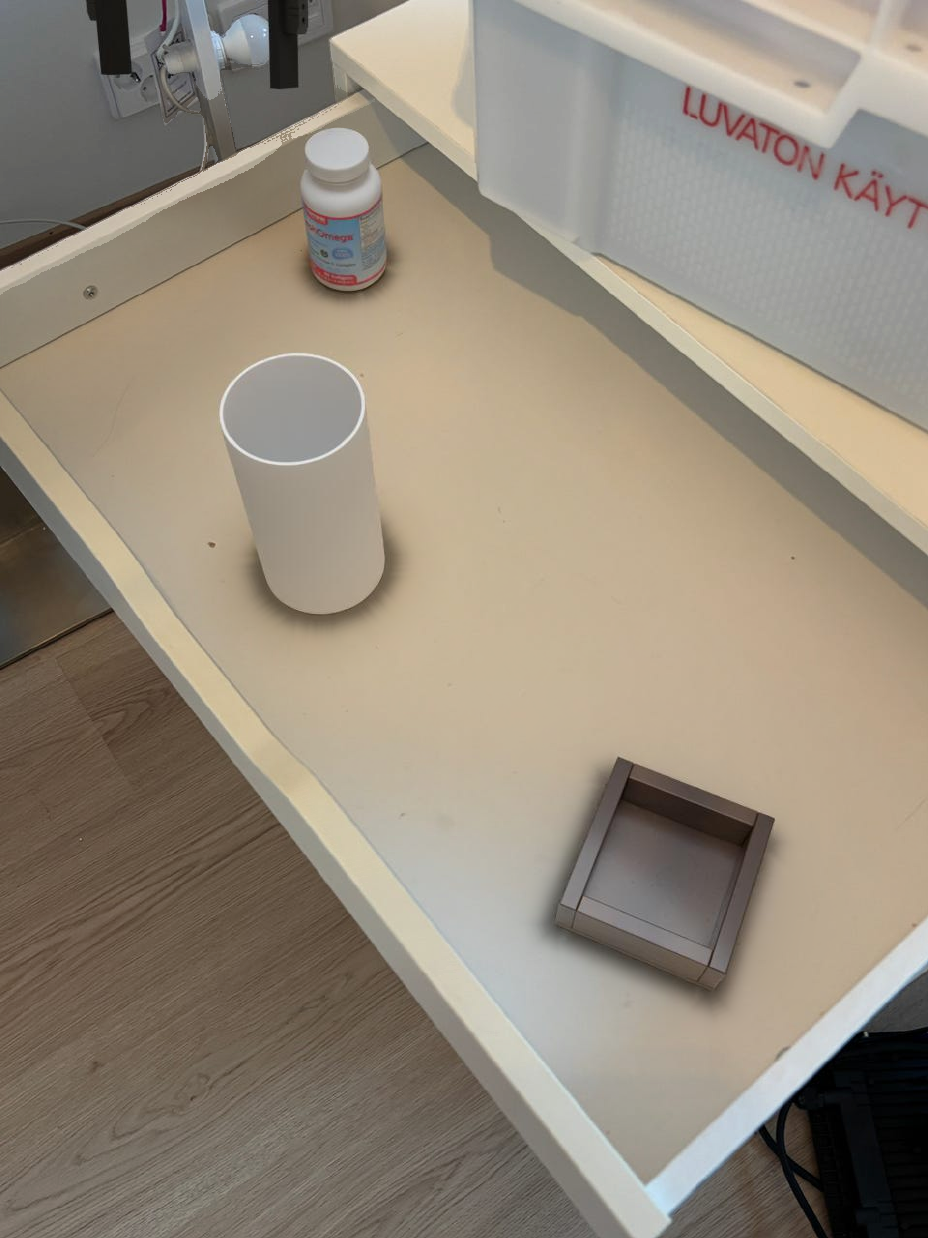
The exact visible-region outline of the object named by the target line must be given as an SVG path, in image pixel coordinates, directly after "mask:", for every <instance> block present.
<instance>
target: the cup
mask: <svg viewBox="0 0 928 1238" xmlns="http://www.w3.org/2000/svg"><path fill="white" fill-rule="evenodd" d="M224 391H225V392H224V393H223V395H222V398H221V401H220V405H219V424H220V429H221V432H222V436H223V439H224V442H225V443H224V444H225V447H226V450H227V453H228V458H229V460H230V463H231V467H232V471H233V473H234V477H235V480H236V484H237V487H238V491H239V494H240V497H241V500H242V501H241V502H242V504H243V507H244V511H245V514H246V517H247V518H246V519H247V521H248V524H249V528H250V531H251V534H252V538H253V541H254V544H255V548H256V551H257V555H258V558H259V561H260V566H261V569H262V571H263V575H264V579H265V582H266V583H267V586H268V587H269V589H270V591H271V593H272V594H273V595H274V596H275V598H277V599H278V600H279V602H281V603H283V604H284V605H285V606H288V608H291V609H293V610H296V611H299V612H301V613H305V614H311V615H330V614H336V613H340V612H343V611H346V610H349V609H351V608H353V607H355V606H356V605H358V604H360V603H362V602H363V601H364V600H366V599H367V598H368V597H369V596H370V595H371V594H372V593H373V592H374V590H376V587H377V586H378V585H379V583H380V581H381V579H382V576H383V574H384V569H385V561H386V558H385V548H384V539H383V531H382V530H383V529H382V523H381V515H380V508H379V507H380V506H379V499H378V491H377V481H376V473H375V467H374V466H375V465H374V458H373V449H372V443H371V433H370V425H369V417H368V408H367V402H366V397H365V393H364V390H363V388H362V386H361V384H360V382H359V381H358V379H357V378H356V376H355V375H354V374H353V373H352V372H351V371H350V370H349V369H348V368H347V367H346V366H344V365H343V364H341V363H339V362H338V361H335V360H333V359H331V358H328V357H326V356H323V355H319V354H312V353H307V352H292V353H282V354H278V355H273V356H269V357H267V358H264V359H261V360H258V361H256V362H255V363H253V364H251V365H250V366H248V367H247V368H245V369H244V370H242V371H241V372H240V373H239V374H237V376H236V377H234V379H232V380H231V382H230V384H229V385H228V386H227V388H226V390H224Z"/></svg>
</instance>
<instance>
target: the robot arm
mask: <svg viewBox="0 0 928 1238" xmlns="http://www.w3.org/2000/svg"><path fill="white" fill-rule="evenodd" d="M85 3H86V6H85V7H86V13H87V16H88V18H89V21H90V22H92V21H93V22H95V23H96V24H95V25H96V33H97V34H96V36H97V45H98V46H97V47H98V55H99V67H100V75H102V76H103V75H104V76H120V75H121V76H122V75H133V67H132V66H133V65H132V54H131V53H132V52H131V41H130V27H129V17H128V15H129V13H128V4H127V3H128V2H127V0H85ZM267 21H268V23H267V24H268V25H267V27H268V29H267V30H268V59H269V61H268V62H269V88H270V89H273V90H287V89H297V88H298V89H299V40H298V39H299V36H298V35H307V32H308V29H309V0H267Z"/></svg>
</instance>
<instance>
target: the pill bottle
mask: <svg viewBox="0 0 928 1238" xmlns="http://www.w3.org/2000/svg"><path fill="white" fill-rule="evenodd" d="M304 156H305V167H306V168H305V170H304V172H303V174H302V176H301V178H300V183H299V185H300V186H299V187H300V188H299V189H300V197H301V204H302V211H303V212H302V213H303V218H304V219H303V220H304V225H305V232H306V240H307V245H308V246H307V247H308V254H309V260H310V266H311V270H312V273H313V275H314V276H315V278H316V279H317V280H318V281H319V282H320V283H321V284H322V285H324V286H326V287H328V288H330V289H333V290H336V291H341V292H355V291H359V290H363V289H366V288H368V287H369V286H371V285H373V284H374V283H376V281H378V280H379V279H380V277H382V275H383V273H384V271H385V269H386V266H387V261H388V259H387V258H388V257H387V243H386V242H387V241H386V229H385V214H384V213H385V212H384V202H383V201H384V200H383V187H382V179H381V176H380V174H379V172H378V170H377V169H376V167H375V166H374V165H373V164H372V163H371V160H372V159H371V155H370V147H369V142H368V140H367V139H366V138H365V137H364V135H363V134H361V133H360V132H358V131H356V130H354V129H350V128H346V127H330V128H326V129H322V130H320V131H318V132H316V133H314V134H313V135H312V136H311V137H310V138H308V140H307V142H306V143H305V146H304Z"/></svg>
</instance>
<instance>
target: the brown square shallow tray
mask: <svg viewBox="0 0 928 1238" xmlns="http://www.w3.org/2000/svg"><path fill="white" fill-rule="evenodd" d="M775 821H776V818H775V817H773V816H770V815H768V814H765V813H763V812H761V811H760V812H758V810H755V809H753V808H750V807H748V806H745V805H742V804H740V803H737V802H734V801H733V800H730V799H727V798H725V797H722V796H719V795H717V794H714V793H713V792H709V791H707V790H705V789H703V788H700V787H697V786H694V785H691V784H688V783H686V782H684V781H682V780H679V779H676V778H673V777H671V776H669V775H666V774H664V773H661V772H658V771H656V770H653V769H650V768H649V767H645V766H643V765H640V764H637V763H634V762H633V761H630V760H628V759H625V758H623V757H620V756H617V757H616V759H615V762H614V764H613V767H612V770H611V772H610V775H609V778H608V780H607V782H606V785H605V788H604V790H603V792H602V795H601V797H600V800H599V802H598V805H597V807H596V809H595V812H594V815H593V817H592V820H591V823H590V825H589V827H588V829H587V832H586V835H585V837H584V840H583V842H582V845H581V848H580V850H579V852H578V855H577V858H576V860H575V863H574V865H573V867H572V870H571V872H570V875H569V878H568V880H567V882H566V885H565V887H564V890H563V892H562V895H561V898H560V900H559V902H558V907H557V911H556V916H555V920H554V925H556V926H559V927H560V928H562V929H566V930H568V931H570V932H572V933H575V934H577V935H579V936H582V937H584V938H585V939H588V940H591V941H594V942H596V943H597V944H600V945H602V946H605V947H607V948H610V949H612V950H614V951H617V952H619V953H622V954H623V955H626V956H629V957H631V958H633V959H636V960H638V961H640V962H643V963H645V964H646V965H650V966H652V967H654V968H657V969H659V970H661V971H664V972H666V973H668V974H671V975H673V976H675V977H677V978H680V979H682V980H684V981H687V982H689V983H692V984H694V985H697V986H698V987H700V988H703V989H706V990H708V991H710V992H713V991H714V989H715V988H716V987H717V985H718V984H720V983H721V981H722V979H723V978H724V977H725V976H726V975H727V973H728V971H729V967H730V963H731V960H732V957H733V954H734V951H735V948H736V945H737V941H738V938H739V936H740V931H741V929H742V925H743V923H744V920H745V917H746V913H747V910H748V907H749V903H750V900H751V897H752V894H753V891H754V888H755V885H756V881H757V879H758V875H759V872H760V869H761V866H762V862H763V860H764V856H765V853H766V850H767V846H768V844H769V840H770V837H771V835H772V834H771V833H772V830H773V827H774V824H775Z"/></svg>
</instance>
